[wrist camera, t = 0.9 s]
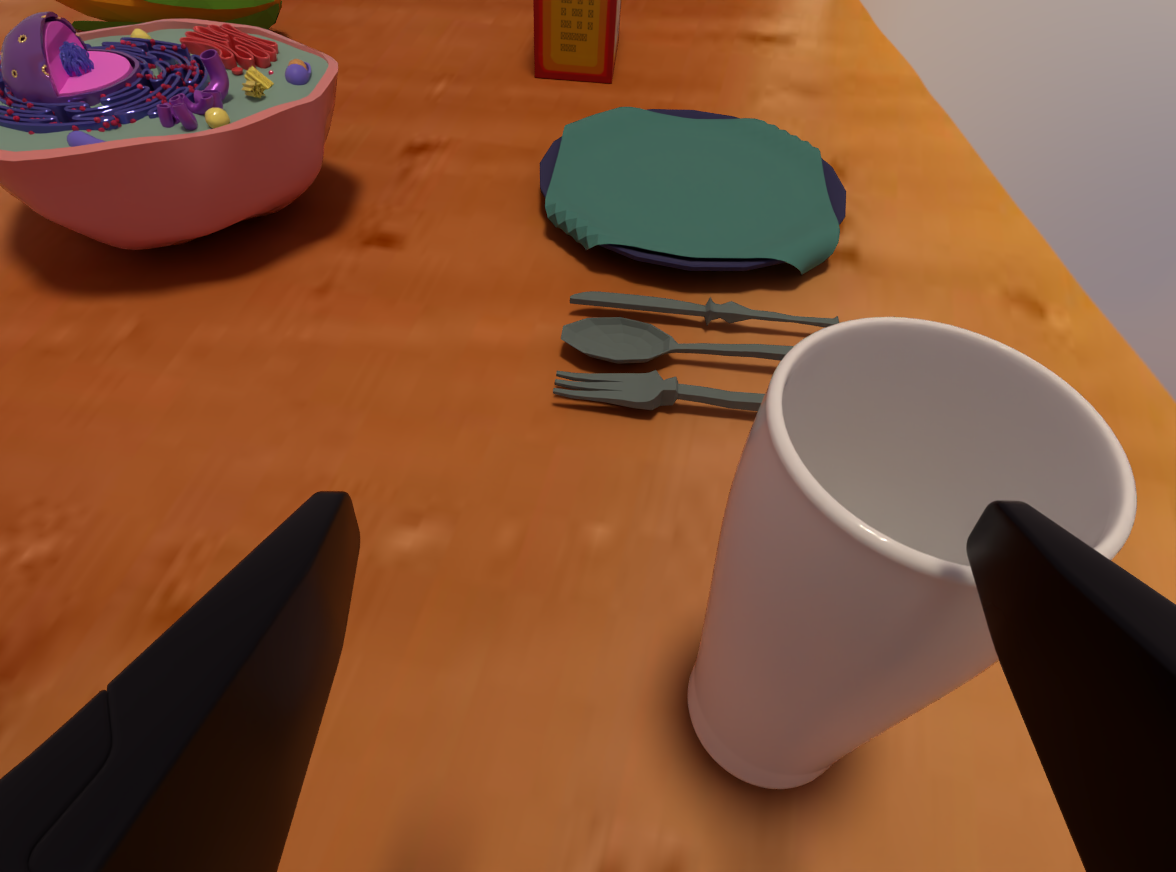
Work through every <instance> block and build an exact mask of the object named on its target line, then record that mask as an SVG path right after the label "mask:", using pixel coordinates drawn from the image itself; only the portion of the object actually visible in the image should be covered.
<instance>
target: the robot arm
mask: <svg viewBox="0 0 1176 872" xmlns="http://www.w3.org/2000/svg"><path fill="white" fill-rule="evenodd" d="M359 549H360V531H359V527H358V523H357V520H356V516H355V512H354V508H353V504H352V500H351V498H350V496H349V494H348V493H346V492H343V491H320V492H317V493H315V494H313V495H312V496H311V497H310V498H309V499H308V500H307V501H306V502H305V503H304V504H302V505H301V506H300V507H299V508H298V509H297V510H296V511H295V512H294V513H293V514H292V515H291V516H289V517H288V518H287V519H286V520H285V521H284V522H283V523H282V524H281V525H280V526H279V527H278V528H276V529H275V530H274V531H273V532H272V533H271V534H270V535H269V536H268V537H267V538H266V539H265V540H264V541H262V542H261V543H260V544H259V545H258V546H257V547H256V548H255V549H254V550H253V551H252V552H251V553H249V554H248V555H247V556H246V557H245V558H244V559H243V560H242V561H241V562H240V563H239V564H238V565H236V566H235V567H234V568H233V569H232V570H231V571H230V572H229V573H228V574H227V575H226V576H225V577H224V578H222V579H221V580H220V581H219V582H218V583H217V584H216V585H215V586H214V587H213V588H212V589H211V590H209V591H208V592H207V593H206V594H205V595H204V596H203V597H202V598H201V599H200V600H199V601H198V602H196V603H195V604H194V605H193V606H192V607H191V608H190V609H189V610H188V611H187V612H186V613H185V614H184V615H182V616H181V617H180V618H179V619H178V620H177V621H176V622H175V623H174V624H173V625H172V626H171V627H169V628H168V629H167V630H166V631H165V632H164V633H163V634H162V635H161V636H160V637H159V638H158V639H156V640H155V641H154V642H153V643H152V644H151V645H150V646H149V647H148V648H147V649H146V650H145V651H143V652H142V653H141V654H140V655H139V656H138V657H137V658H136V659H135V660H134V661H133V662H132V663H131V664H129V665H128V666H127V667H126V668H125V669H124V670H123V671H122V672H121V673H120V674H119V675H118V676H116V677H115V678H114V679H113V680H112V681H111V682H110V683H109V684H108V685H107V691H106V690H102V691H100V692H99V693H98V694H97V695H96V696H95V697H93V698H92V699H91V700H90V701H89V702H88V703H87V704H86V705H85V706H84V707H83V708H82V709H80V710H79V711H78V712H77V713H76V714H75V715H74V716H73V717H72V718H71V719H69V720H68V721H67V722H66V723H65V724H64V725H63V726H62V727H60V728H59V729H58V730H57V731H56V732H55V733H54V734H53V735H51V736H50V737H49V738H48V739H47V740H46V741H45V742H44V743H42V744H41V745H40V746H39V747H38V748H37V749H36V750H35V751H33V752H32V753H31V754H30V755H29V756H28V757H26V758H25V759H24V760H23V761H22V762H20V763H19V764H18V765H17V766H16V767H14V768H13V769H12V770H11V771H10V772H8V773H7V774H6V775H5V776H4V777H2V778H1V779H0V872H277V870H278V866H279V863H280V859H281V856H282V853H283V849H284V846H285V842H286V839H287V836H288V832H289V829H290V826H291V822H292V819H293V815H294V812H295V809H296V805H297V802H298V798H299V795H300V792H301V788H302V785H303V781H304V778H305V775H306V771H307V768H308V765H309V761H310V758H311V754H312V751H313V748H314V744H315V741H316V737H317V734H318V731H319V727H320V724H321V721H322V717H323V714H324V710H325V707H326V704H327V700H328V697H329V693H330V690H331V687H332V683H333V680H334V676H335V673H336V670H337V666H338V663H339V659H340V655H341V651H342V648H343V642H344V637H345V632H346V626H347V620H348V614H349V608H350V602H351V596H352V590H353V585H354V579H355V573H356V567H357V561H358V555H359ZM966 551H967V557H968V560H969V564H970V567H971V570H972V574H973V577H974V581H975V584H976V588H977V591H978V595H979V598H980V601H981V605H982V608H983V612H984V615H985V619H986V622H987V626H988V629H989V632H990V636H991V639H992V642H993V645H994V648H995V651H996V654H997V656H998V659H999V661H1000V664H1001V667H1002V669H1003V672H1004V674H1005V676H1006V679H1007V681H1008V684H1009V686H1010V689H1011V691H1012V693H1013V696H1014V698H1015V701H1016V703H1017V706H1018V708H1019V710H1020V713H1021V715H1022V718H1023V720H1024V723H1025V725H1026V727H1027V730H1028V732H1029V735H1030V737H1031V739H1032V742H1033V744H1034V747H1035V749H1036V752H1037V754H1038V756H1039V759H1040V761H1041V764H1042V766H1043V769H1044V771H1045V773H1046V776H1047V778H1048V781H1049V783H1050V786H1051V788H1052V790H1053V793H1054V795H1055V798H1056V800H1057V803H1058V805H1059V807H1060V810H1061V812H1062V815H1063V817H1064V820H1065V822H1066V824H1067V827H1068V829H1069V832H1070V834H1071V836H1072V839H1073V841H1074V844H1075V846H1076V849H1077V851H1078V853H1079V856H1080V858H1081V861H1082V863H1083V866H1084V868H1085V870H1086V872H1176V605H1175V604H1174V603H1173V602H1171V601H1170V600H1168V599H1167V598H1165V597H1164V596H1162V595H1161V594H1159V593H1158V592H1156V591H1155V590H1153V589H1152V588H1151V587H1149V586H1148V585H1146V584H1145V583H1143V582H1142V581H1140V580H1139V579H1137V578H1136V577H1134V576H1133V575H1131V574H1130V573H1128V572H1127V571H1126V570H1124V569H1123V568H1121V567H1120V566H1118V565H1117V564H1115V563H1114V562H1112V561H1111V560H1109V559H1108V558H1106V557H1105V556H1104V555H1102V554H1101V553H1099V552H1098V551H1096V550H1095V549H1093V548H1092V547H1090V546H1089V545H1087V544H1086V543H1084V542H1083V541H1082V540H1080V539H1079V538H1077V537H1076V536H1074V535H1073V534H1071V533H1070V532H1068V531H1067V530H1065V529H1064V528H1062V527H1061V526H1060V525H1058V524H1057V523H1055V522H1054V521H1052V520H1051V519H1049V518H1048V517H1046V516H1045V515H1043V514H1042V513H1040V512H1039V511H1037V510H1036V509H1035V508H1033V507H1032V506H1030V505H1029V504H1027V503H1025V502H1022V501H1009V500H996V501H993V502H991V503H989V504H988V505H987V507H986V508H985V510H984V511H983V513H982V515H981V516H980V518H979V520H978V521H977V523H976V525H975V526H974V528H973V530H972V531H971V533H970V535H969V537H968V540H967V545H966Z"/></svg>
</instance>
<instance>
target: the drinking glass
mask: <svg viewBox="0 0 1176 872" xmlns="http://www.w3.org/2000/svg"><path fill="white" fill-rule="evenodd" d="M996 500H1009V501H1022V502H1025V503H1027V504H1029V505H1030V506H1032V507H1033V508H1035V509H1036V510H1037V511H1039V512H1040V513H1042V514H1043V515H1045V516H1046V517H1048V518H1049V519H1051V520H1052V521H1054V522H1055V523H1057V524H1058V525H1060V526H1061V527H1062V528H1064V529H1065V530H1067V531H1068V532H1070V533H1071V534H1073V535H1074V536H1076V537H1077V538H1079V539H1080V540H1082V541H1083V542H1084V543H1086V544H1087V545H1089V546H1090V547H1092V548H1093V549H1095V550H1096V551H1098V552H1099V553H1101V554H1102V555H1104V556H1105V557H1106V558H1108V559H1109V560H1112V559H1113V558H1114V557H1115V556H1116V554H1117V553H1118V552H1119V551H1120V550H1121V549H1122V547H1123V545H1124V544H1125V542H1126V540H1127V539H1128V537H1129V535H1130V532H1131V530H1132V527H1133V524H1134V520H1135V515H1136V509H1137V494H1136V485H1135V480H1134V476H1133V472H1132V469H1131V466H1130V463H1129V461H1128V458H1127V456H1126V454H1125V452H1124V450H1123V448H1122V446H1121V444H1120V442H1119V440H1118V439H1117V437H1116V436H1115V434H1114V433H1113V431H1112V430H1111V428H1110V427H1109V426H1108V424H1107V423H1106V422H1105V420H1104V419H1103V418H1102V416H1101V415H1100V414H1099V413H1098V412H1097V411H1096V410H1095V409H1094V407H1093V406H1092V405H1091V404H1090V403H1089V402H1088V401H1087V400H1086V399H1085V398H1084V397H1083V396H1082V395H1081V394H1080V393H1078V392H1077V391H1076V390H1075V389H1074V388H1073V387H1071V386H1070V385H1069V384H1068V383H1067V382H1065V381H1064V380H1063V379H1061V378H1060V377H1059V376H1057V375H1056V374H1055V373H1053V372H1052V371H1050V370H1049V369H1047V368H1046V367H1045V366H1043V365H1042V364H1040V363H1038V362H1037V361H1035V360H1033V359H1032V358H1030V357H1028V356H1027V355H1025V354H1023V353H1021V352H1019V351H1017V350H1015V349H1013V348H1011V347H1009V346H1007V345H1005V344H1003V343H1000V342H998V341H996V340H994V339H991V338H989V337H986V336H983V335H981V334H978V333H975V332H972V331H969V330H966V329H963V328H959V327H956V326H952V325H948V324H943V323H939V322H934V321H928V320H922V319H914V318H903V317H873V318H862V319H856V320H850V321H846V322H841V323H837V324H834V325H831V326H829V327H826V328H823V329H821V330H819V331H817V332H815V333H813V334H811V335H809V336H808V337H806V338H804V339H803V340H802V341H800V342H799V343H798V344H796V345H795V346H794V347H793V348H792V349H791V350H790V351H789V352H788V353H787V354H786V355H785V356H784V358H783V359H782V360H781V361H780V363H779V364H778V366H777V368H776V370H775V371H774V373H773V375H772V378H771V381H770V383H769V386H768V388H767V391H766V393H765V395H764V398H763V400H762V402H761V405H760V407H759V410H758V412H757V414H756V417H755V419H754V422H753V424H752V427H751V430H750V432H749V435H748V437H747V440H746V443H745V446H744V448H743V451H742V454H741V457H740V460H739V463H738V465H737V469H736V472H735V475H734V478H733V481H732V485H731V489H730V492H729V496H728V500H727V504H726V508H725V513H724V517H723V521H722V526H721V531H720V536H719V541H718V547H717V552H716V558H715V564H714V569H713V575H712V581H711V586H710V592H709V597H708V603H707V608H706V614H705V619H704V624H703V630H702V635H701V640H700V645H699V650H698V655H697V658H696V660H695V663H694V666H693V669H692V671H691V674H690V679H689V684H688V709H689V715H690V718H691V722H692V725H693V727H694V730H695V732H696V734H697V737H698V739H699V740H700V742H701V744H702V745H703V747H704V748H705V750H706V751H707V752H708V754H709V755H710V756H711V757H712V758H713V759H714V760H715V761H716V762H717V763H718V764H719V765H720V766H721V767H722V768H723V769H725V770H726V771H727V772H729V773H730V774H731V775H733V776H735V777H736V778H738V779H740V780H742V781H744V782H747V783H749V784H752V785H755V786H759V787H763V788H769V789H789V788H794V787H798V786H801V785H805V784H807V783H809V782H811V781H813V780H815V779H816V778H818V777H819V776H821V775H822V774H823V773H824V772H826V771H827V770H828V769H829V768H830V767H831V766H832V765H833V764H834V763H835V762H836V761H838V760H839V759H841V758H842V757H844V756H846V755H847V754H849V753H850V752H852V751H853V750H855V749H857V748H858V747H860V746H862V745H863V744H865V743H866V742H868V741H870V740H871V739H873V738H875V737H876V736H878V735H880V734H881V733H883V732H885V731H886V730H888V729H890V728H891V727H893V726H895V725H897V724H898V723H900V722H902V721H903V720H905V719H907V718H908V717H910V716H912V715H913V714H915V713H917V712H919V711H920V710H922V709H924V708H925V707H927V706H929V705H930V704H932V703H934V702H936V701H937V700H939V699H941V698H942V697H944V696H946V695H947V694H949V693H950V692H952V691H954V690H955V689H957V688H959V687H960V686H962V685H963V684H965V683H967V682H968V681H970V680H972V679H973V678H975V677H976V676H978V675H979V674H981V673H982V672H984V671H985V670H987V669H988V668H990V667H991V666H992V665H994V664H995V663H996V662H998V661H999V659H998V656H997V654H996V651H995V648H994V645H993V642H992V639H991V636H990V632H989V629H988V626H987V622H986V619H985V615H984V612H983V608H982V605H981V601H980V598H979V595H978V591H977V588H976V584H975V581H974V577H973V574H972V570H971V567H970V564H969V560H968V557H967V551H966V545H967V540H968V537H969V535H970V533H971V531H972V530H973V528H974V526H975V525H976V523H977V521H978V520H979V518H980V516H981V515H982V513H983V511H984V510H985V508H986V507H987V505H988V504H989V503H991V502H993V501H996Z"/></svg>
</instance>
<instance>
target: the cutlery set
mask: <svg viewBox="0 0 1176 872" xmlns="http://www.w3.org/2000/svg"><path fill="white" fill-rule="evenodd" d="M540 189H541V193H542V194H543V196H544V197H545V199H546V200H545V209H546V213H547V217H548V219H549V220H550V221H551V222H552V223H553V224H554V225H555V227H557V228H560V229H562V230H563V231H564V232H565V233H566V234H567V235H570V236H572V237H573V238H574V239H575V241H576V242H578V243H580V244H582V245H583V246H584V248H585V249H586V250H588V249H589V248H591V247H594V246H596V245H599V246H602V247H604V248H607V249H609V250H612V251H614V252H616V253H619V254H621V255H624V256H626V257H629V258H631V259H634V260H636V261H641V262H647V263H652V264H657V265H662V266H668V267H673V268H678V269H683V270H689V271H747V270H752V269H757V268H761V267H766V266H771V265H776V264H781V263H785V262H787V263H789V264H791V265H793V266H795V267H796V268H797V269H799V270H800V271H801V275H802V274H804V273H806V272H807V271H809V270H811V269H812V268H814V267H816V266H818V265H819V264H821V263H823V262H824V261H825V260H826V259H827V258H828V257H829V256H830V255H832V254H833V252H834V250H835V248H836V246H837V244H838V241H839V234H840V229H839V225H840V223H841V222H842V221H843V219H844V217H845V208H846V190H845V189H844V187H843V185H842V183H841V182H840V180H839V178H838V176H837V175H836V173H835V171H834V169H833V168H832V167H831V166H830V165H829V164H828V163H827V162H825V161H824V160H823V159H822V158H821V154H820V151H819V149H818V148H815V147H812V145H811V144H810V143H809V142H808V141H801V140H800V139H799V138H798V137H797V136H794V135H790V134H789V133H788V132H787V131H786V130H780V129H779V128H778V127H776V126H775V125H771V124H767V123H766V122H765V121H762V120H758V119H750V118H742V119H740V118H737V117H733V116H727V115H721V114H714V113H708V112H702V111H695V110H666V109H649V110H644V109H640V108H634V107H619V108H616V109H612V110H609V111H605V112H602V113H598V114H595V115H592V116H589V117H586V118H583V119H581V120H578V121H576V122H573V123H570V124H568V125H565V128H564V131H563V135H562V137H560V138H559V139H557V140H556V141H554V142H553V144H552V145H551V147H550V148H549V150H548V151H547V153H546V154H545V156H544V157H543V159H542V161H541V162H540ZM570 303H572V304H583V305H593V306H603V307H613V308H623V309H633V310H643V311H653V312H663V313H673V314H683V315H693V316H703V317H705V321H706V324H707V326H708V324H709V323H710V321H711V320H714V319H718V318H721V319H723V320H725V321H726V322H728V323H733V322H738V321H743V320H748V319H758V320H768V321H780V322H794V323H800V324H807V325H813V326H820V327H829V326H831V325H834V324H837V323H839V320H838V316H837V317H835V318H833V319H830V318H815V317H799V316H791V315H786V314H781V313H776V312H768V311H758V310H751V309H749V308H746V307H744V306H741V305H739V304H737V303H734V302H732V301H730V302H728V303H725V304H722V305H720V304H715V303H714V302H713V301H712V299H711V297H710V298H709V300H708V302H707V304H706V306H704V305H699V304H694V303H690V302H684V301H678V300H673V299H666V298H658V297H649V296H640V295H630V294H619V293H608V292H592V291H591V292H583V293H578V294H574V295H572V296H570ZM561 339H562V340H563V341H565V342H567V343H568V344H570V345H571V346H573V347H575V348H576V349H578V350H579V351H581V352H583V353H584V354H586V355H588V356H590V357H593V358H597V359H601V360H605V361H609V362H613V363H617V364H621V363H643V362H648V361H650V360H652V359H654V358H657V357H659V356H661V355H663V354H668V353H699V354H712V355H723V356H740V357H756V358H764V359H773V360H782V359H783V358H784V356H785V355H786V354H787V353H788V352H789V351H790V350H791V349H792V348H793V347H794V346H779V345H764V344H707V343H698V344H678V343H677V342H676V341H675V340H674V339H673V338H672V337H671V336H670V335H668V334H666V333H665V332H663V331H661V330H660V329H658V328H656V327H655V326H653V325H651V324H648V323H644V322H639V321H635V320H631V319H626V318H622V317H604V318H586V319H583V320H580V321H577V322H574V323H571V324H567V325H564V326H563V330H562V335H561ZM556 376H558V377H562V378H566V379H570V380H574V381H582V382H574V381H566V380H558V379H555V385H558V386H562V387H566V388H569V389H575V390H566V389H558V388H554V389H553V394H557V395H561V396H565V397H569V398H575V399H583V400H591V401H600V402H607V403H611V404H616V405H621V406H626V407H631V408H637V409H646V410H653V409H655V408H657V407H659V406H666V405H673V404H674V403H675V401H676V400H677V399H681V400H688V401H694V402H701V403H706V404H711V405H716V406H721V407H726V408H732V409H742V410H751V411H758V410H759V407H760V405H761V402H762V400H763V398H764V395H765V394H757V393H744V392H730V391H725V390H719V389H713V388H708V387H701V386H693V385H685V384H678V381H677V378H676V377H673V378H669V379H666V380H663V379H662V378H661V376H660V375H659V374H658V372H657V371H656V370H654V371H652V372H650V373H599V374H587V373H571V372H564V371H557V373H556ZM579 390H583V391H579Z"/></svg>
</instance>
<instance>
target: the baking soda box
mask: <svg viewBox="0 0 1176 872" xmlns="http://www.w3.org/2000/svg"><path fill="white" fill-rule="evenodd" d="M620 9H621V0H534V58H535V77H536V78H548V79H561V80H573V81H586V82H599V83H612V77H613V71H614V65H615V59H616V53H617V47H618V39H619V24H620Z"/></svg>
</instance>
